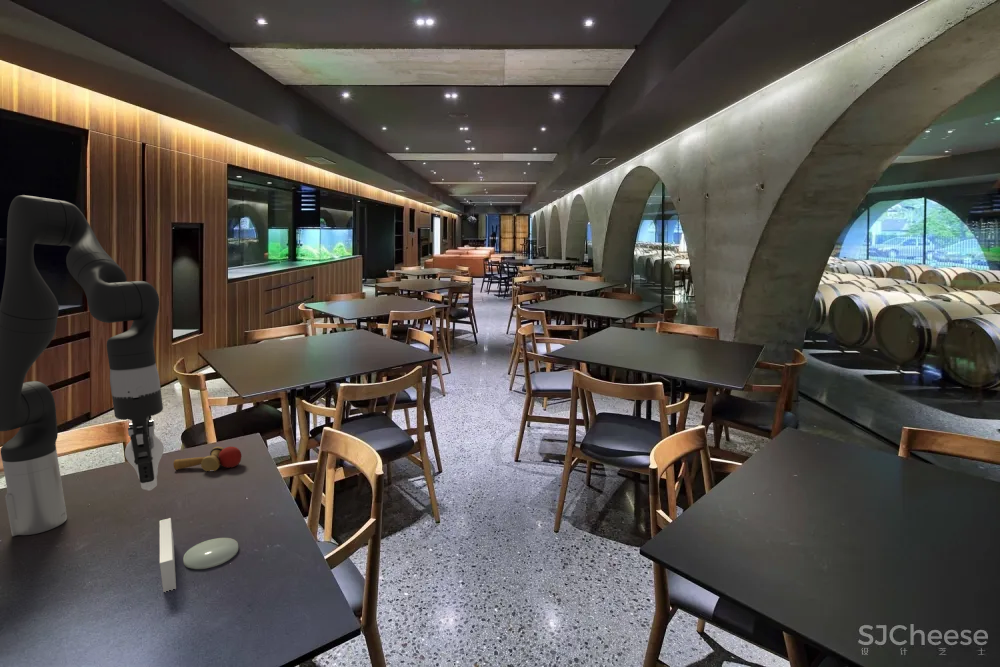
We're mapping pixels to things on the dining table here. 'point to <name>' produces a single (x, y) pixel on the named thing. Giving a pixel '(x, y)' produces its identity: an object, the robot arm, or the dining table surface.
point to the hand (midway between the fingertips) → (148, 475)
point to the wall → (167, 555)
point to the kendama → (212, 459)
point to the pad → (210, 553)
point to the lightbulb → (156, 455)
